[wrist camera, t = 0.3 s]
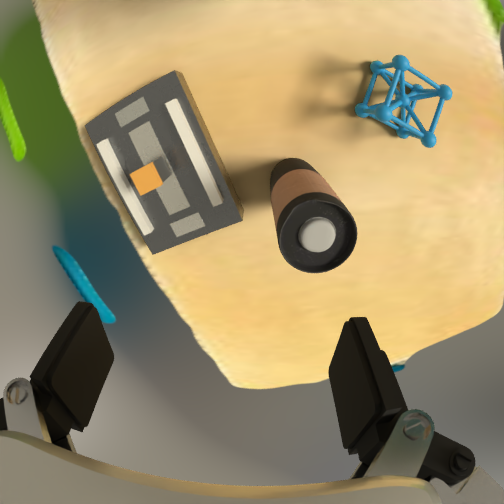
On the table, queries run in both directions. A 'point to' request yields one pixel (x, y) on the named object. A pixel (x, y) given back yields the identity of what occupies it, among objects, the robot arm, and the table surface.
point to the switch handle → (150, 175)
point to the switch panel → (176, 157)
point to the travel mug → (310, 218)
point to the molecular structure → (403, 100)
